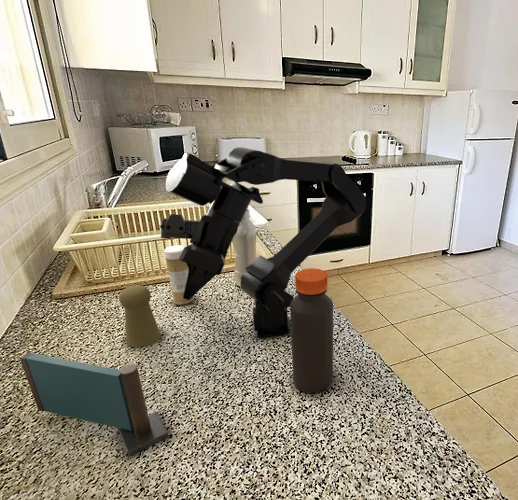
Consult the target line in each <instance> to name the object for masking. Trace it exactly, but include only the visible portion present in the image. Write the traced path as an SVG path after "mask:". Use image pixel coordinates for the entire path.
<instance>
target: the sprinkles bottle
mask: <svg viewBox="0 0 518 500" xmlns="http://www.w3.org/2000/svg"><path fill="white" fill-rule="evenodd" d="M185 247H186V246H185V245H181V244H179V245H171V246H168V247H166V248H164V251H163V252H164V257H165V260H166V263H167V273H168V278H169V282H170V288H171V292H172V299H173V300H172V301H173V303H174V304H175V305H178V306H184V305H187V304H190V303H192V302H193V301H194V300H195V296H193V297H192V298H191V299H190V300H186V299H184V298H183V295H184V290H185V286H186V281H187V277H188V272H189V268H188V266H187V264H186V263H185V262H183V261H181V260H179V258H180V256H181V254H182V251H183V249H184V248H185Z"/></svg>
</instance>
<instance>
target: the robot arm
mask: <svg viewBox="0 0 518 500" xmlns="http://www.w3.org/2000/svg"><path fill="white" fill-rule="evenodd" d="M224 179H226V180H228V181H231V182H232V183H230V184H228V183H226V182H224V181H223V180H224ZM282 180H289V181H290V180H291V181H308V182H320V183H321V188H322V192H323V194H324V195H325V198H324V200H323V202H322V205H321V206H322V207H321V210H320V211H319V212H318V214H317V215H315V217H313V218H312V219H311V220H310V221H309V222H308V223H307V224H306V225H305V226H304V227H303V228H302V229H300V231H298V233H296V235H294V236H293V237H292V238H291V239H290V240H288V242H287V243H286V244H285V245H284V246H283V247H282V248H281V249H280V250H279V251H277V252H276V254H274V255H272V256H271V257H268V258H266V257H264V256H262V255H258V256H256V259H255V260H254V262H253V263H252V264H251V265H249V266H247V267H245V270H246V271H245V272H244V273H243V275H242V276H241V283H240V284H241V287H240V288H241V290H242V291H243V293H245V294H246V295H248V296H249V297H250V299H252V300H254V307H252V308H251V309H252V321H253V330H254V331H255V332H256V337H257V338H258V339H261V338H263V339H264V338H269V337H276V336H282V335H289V334H291V329H290V326H289V316H288V308H290V304H291V302H292V300H293V299H294V298H295V296H294V295H293V294H291V293H289V292H288V291H286V289H287V288H288V287H289V283H290V279H291V275H292V274H293V272H294V271H295V270H296V269H297V268H298V267H299V266H300V265H301V264H302V263H303V262H304V261H305V260H306V259H307V258H308V257H309V256H310V255H311V254H312V253H314V251H315V250H316V249H317V248H318V247H319V246H320V245H321V244H322V243H323V242H324V241H325V240H326V239H327V238H328V237H329V236H330V235H332V233H333V232H335V230H336V229H338V228H339V227H341V226H343V225H346V224H350V223H352V222H354V221H355V220H356V219H358V218H359V217H361V215H363V213H364V212H365V211H366V207H367V199H366V195H365V194H364V192H362V191H361V189H360V187H359V186H358V185H357V184H356V183H355V181H353V180H352V178H351V177H349V175H347V173H346V171H345V169H344V167H342V165H340V164H339V163H336V162H331V161H322V162H321V161H311V160H303V159H295V158H293V159H292V158H283V157H279V156H277V155H274V154H271V153H268V152H264V151H262V150H256V149H253V148H252V149H251V148H247V147H243V146H242V147H235V148H233V149H232V150H231V151H230V152H229V154H228V155H227V156H226V157H225V158H223V159H221V160H219V161H217V162H216V163H213V164H211V165H210V164H208V163H207V162H205V161H203V160H201V158H199V157H198V156H197V155H194V154H192V153H191V152H184V154H183V156H182V158H181V159H179V160H178V161H177V162H176V163H175V164H174V166H173V168H171V169H170V170H169V172H168V174H167V177H166V181H165V191H166V192H168V193H170V194H172V195H175V196H177V197H179V198H182V199H184V200H186V201H189V202H190V203H193V204H196V205H197V206H200V207H204V206H207V204H210V205H209V207H208V209H207V211H206V214H204V215H202V216H201V218H199V220H194V219H193V220H192V219H185V218H184V216H183V214H177V213H175V214H174V213H170V214H169V216H168V217H165V218H163V217H162V218H161V224H160V225H159V229H160V239H167V240H170V239H185V240H189V243H190V244H189V245H186V246H185V248H184V249H183V251H182V254H181V256H180V258H179V260H181V261H183V262H185V263H186V264H187V266H188V268H189V272H188V277H187V281H186V286H185V290H184V295H183V298H184V299H186V300H190V299H191V298H192V297H195V296H196V295H197V293H199V291H201V290H202V289H203V288H204V287H205V286H206V285H207V284H208V283H209V282H210V281H212V279H213V278H214V277H215V276H220V275H221V273H222V271H223V268H224V267H225V264H226V260H225V259H226V257H227V255H228V251H229V249H230V247H231V244H232V240H233V238H234V236H235V235H236V233H237V230H238V227H239V225H240V223H241V221H242V219H243V217H244V214H245V212H246V210H247V209H249V206H250V204H251V201H252V202H255V203H257V204H259V205H263V204H264V200H263V197H262V195H261V193H260V189H259V188H258V187H255V186H258V185H266V184H272V183H275V182H279V181H282ZM241 183H247V184H249V185H253V186H250V187H247V186H245V185H243V184H241Z"/></svg>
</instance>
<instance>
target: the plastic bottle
mask: <svg viewBox="0 0 518 500" xmlns="http://www.w3.org/2000/svg"><path fill="white" fill-rule="evenodd" d="M250 218H251V215H250V209H249V208H247V210H246V212H245V214H244V217H243V219H242V221H241V223H240V225H239V227H238V230H237V233H236V235H235V236H234V238H233V240H232V242H231V244H232V247H233V252H234V271H233V278H234V281H235V284H236V285H237V286H238V287H240V288H241V284H240V283H241V276H242V275H243V273H244V272H245V271H246V270H245V267H247V266H249V265H251V264H252V263H253V262H254V260H255V259H256V258H257V235H258V233H257V231H258V230H257V228H256V225H255V224H254V223H253V222H252V220H250Z"/></svg>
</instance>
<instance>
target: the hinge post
mask: <svg viewBox="0 0 518 500" xmlns="http://www.w3.org/2000/svg"><path fill="white" fill-rule="evenodd" d="M119 370H120V375H121V379H122V383H123V387H124V391H125V395H126V400H127V404H128V408H129V412H130V416H131V420H132V424H133V428H134V429H133V430H132V431H129V430H125V429H120V428H118V432H119V435H120V437H121V440H122V442H123V445H124V447H125V450H126V453H127V456H128V457H132V456H133V455H136V454H138V453H139V452H141V451H143V450H145V449H147V448H149V447H150V446H153V445H155V444H156V443H159V442H160V441H162V440H164V439H166V438H168V437H169V433H168V431H167V428H166V427H165V425H164V423H163V421H162V420H161V417H160V416H159V414H158V412H153V413H151V414H149V413H148V409H147V404H146V399H145V394H144V391H143V386H142V382H141V377H140V373H139V368H138V365H137V364H134V363H129V364H126V365H124V366H122V367H121V368H120V369H119Z"/></svg>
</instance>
